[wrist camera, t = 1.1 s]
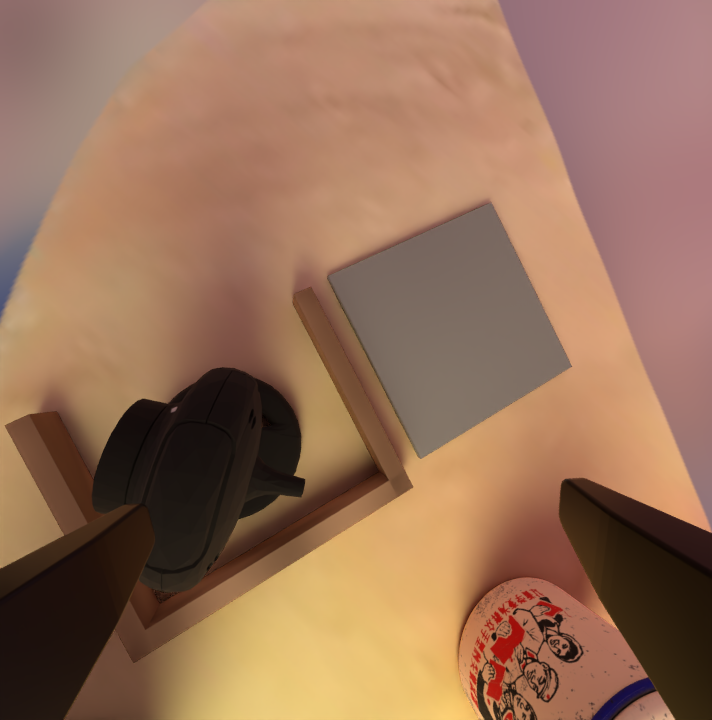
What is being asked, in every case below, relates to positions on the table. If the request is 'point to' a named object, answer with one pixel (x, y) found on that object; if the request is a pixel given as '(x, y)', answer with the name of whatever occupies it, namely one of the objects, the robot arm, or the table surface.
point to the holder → (180, 612)
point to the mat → (450, 326)
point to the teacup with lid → (550, 660)
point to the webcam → (199, 469)
